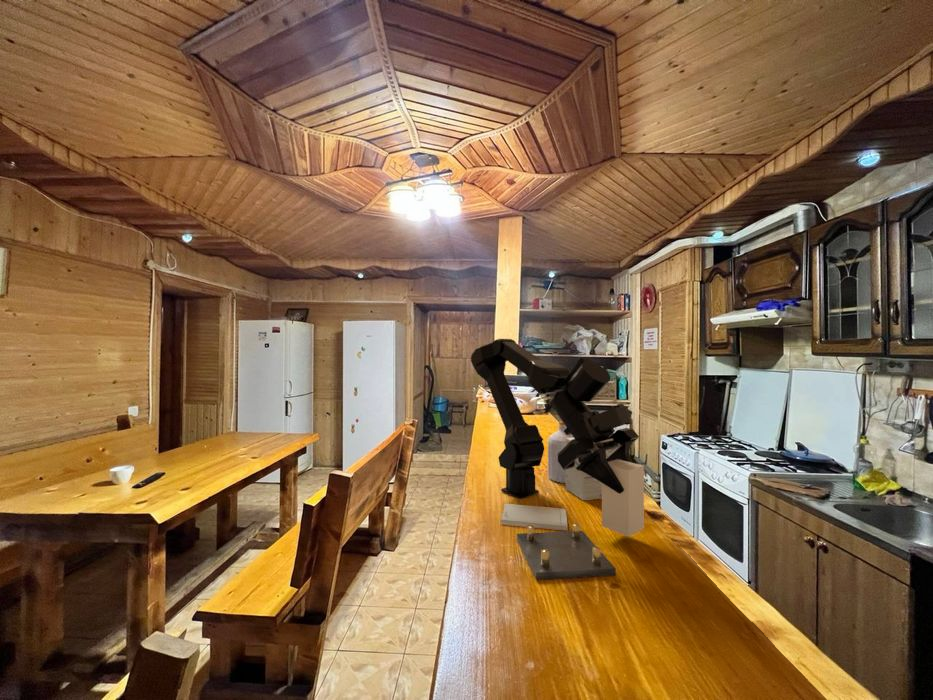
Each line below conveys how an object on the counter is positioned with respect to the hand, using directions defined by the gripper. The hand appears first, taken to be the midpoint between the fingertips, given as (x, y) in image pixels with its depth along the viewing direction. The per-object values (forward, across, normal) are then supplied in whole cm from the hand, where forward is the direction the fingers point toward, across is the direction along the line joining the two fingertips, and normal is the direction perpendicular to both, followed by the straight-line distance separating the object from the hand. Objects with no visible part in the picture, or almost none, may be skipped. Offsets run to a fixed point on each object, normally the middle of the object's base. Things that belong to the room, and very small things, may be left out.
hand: (630, 488), depth 65 cm
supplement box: (-6, +14, +20) cm, 25 cm away
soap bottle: (-13, +19, +27) cm, 35 cm away
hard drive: (-5, -6, +19) cm, 20 cm away
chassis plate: (+3, -13, +10) cm, 17 cm away
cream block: (+4, 0, +6) cm, 7 cm away
